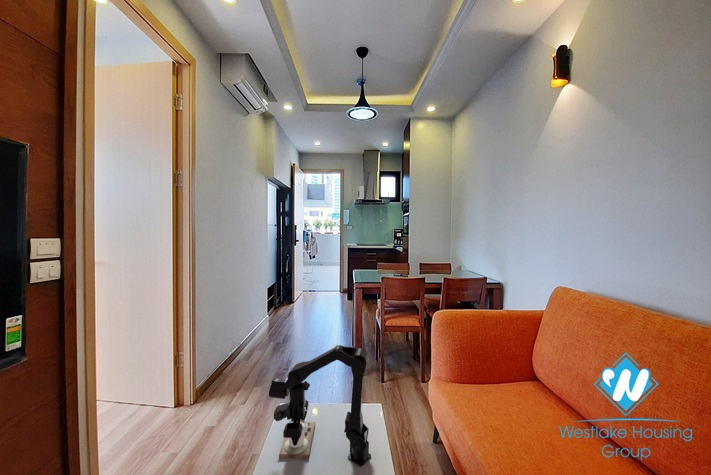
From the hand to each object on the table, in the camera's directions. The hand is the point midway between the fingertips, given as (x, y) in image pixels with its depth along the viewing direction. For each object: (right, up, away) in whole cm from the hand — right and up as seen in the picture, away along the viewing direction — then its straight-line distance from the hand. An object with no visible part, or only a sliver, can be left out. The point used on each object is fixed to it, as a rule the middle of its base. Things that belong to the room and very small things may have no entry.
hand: (296, 439), depth 110 cm
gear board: (0, -4, +5) cm, 6 cm away
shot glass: (0, -1, 0) cm, 1 cm away
